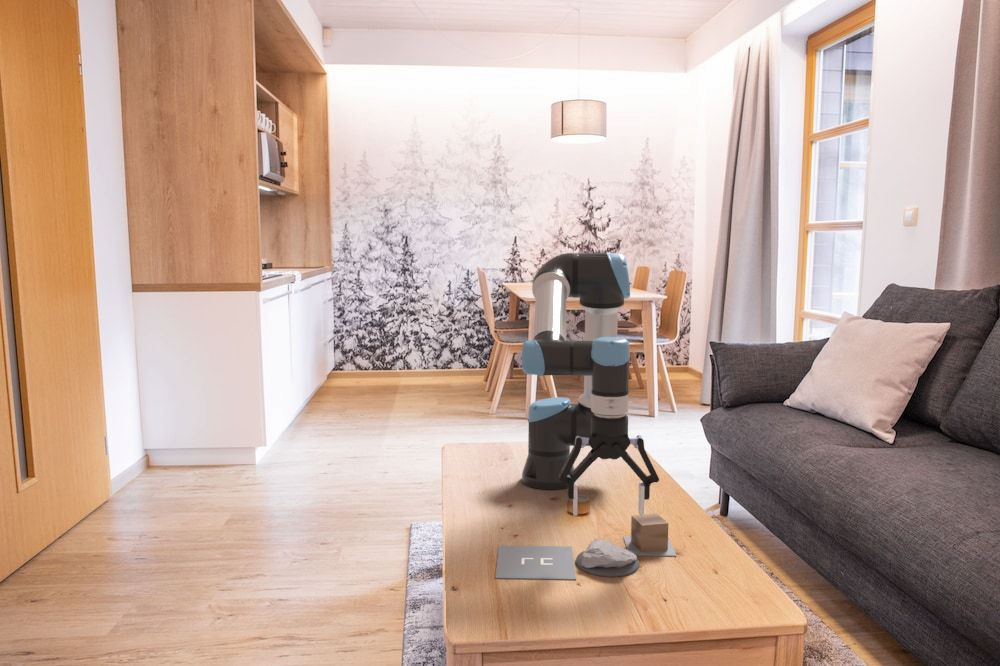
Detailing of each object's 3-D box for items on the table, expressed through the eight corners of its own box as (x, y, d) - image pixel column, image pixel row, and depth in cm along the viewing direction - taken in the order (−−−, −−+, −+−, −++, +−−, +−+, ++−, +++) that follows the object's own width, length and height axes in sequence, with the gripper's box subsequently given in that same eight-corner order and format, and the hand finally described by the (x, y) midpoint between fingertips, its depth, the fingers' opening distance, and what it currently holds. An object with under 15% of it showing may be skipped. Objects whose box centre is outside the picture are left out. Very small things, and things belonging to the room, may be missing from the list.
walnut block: (631, 541, 164) (631, 515, 164) (656, 539, 166) (656, 513, 165) (641, 552, 159) (642, 525, 158) (667, 549, 160) (668, 523, 159)
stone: (641, 554, 157) (641, 538, 156) (626, 576, 146) (627, 559, 146) (595, 546, 161) (595, 530, 161) (577, 567, 150) (577, 550, 150)
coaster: (574, 550, 160) (574, 547, 160) (634, 551, 160) (634, 548, 160) (578, 576, 148) (578, 573, 147) (643, 577, 147) (643, 574, 147)
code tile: (498, 546, 163) (498, 545, 163) (571, 547, 162) (571, 546, 162) (495, 578, 147) (495, 577, 147) (576, 579, 146) (576, 578, 146)
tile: (623, 537, 167) (623, 536, 167) (667, 538, 167) (667, 537, 167) (629, 555, 157) (629, 554, 157) (676, 556, 157) (676, 555, 157)
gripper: (548, 418, 147) (548, 519, 150) (675, 418, 146) (672, 521, 149) (547, 409, 154) (547, 506, 157) (668, 409, 153) (665, 507, 156)
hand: (608, 513), depth 153 cm, fingers open, 13 cm apart
